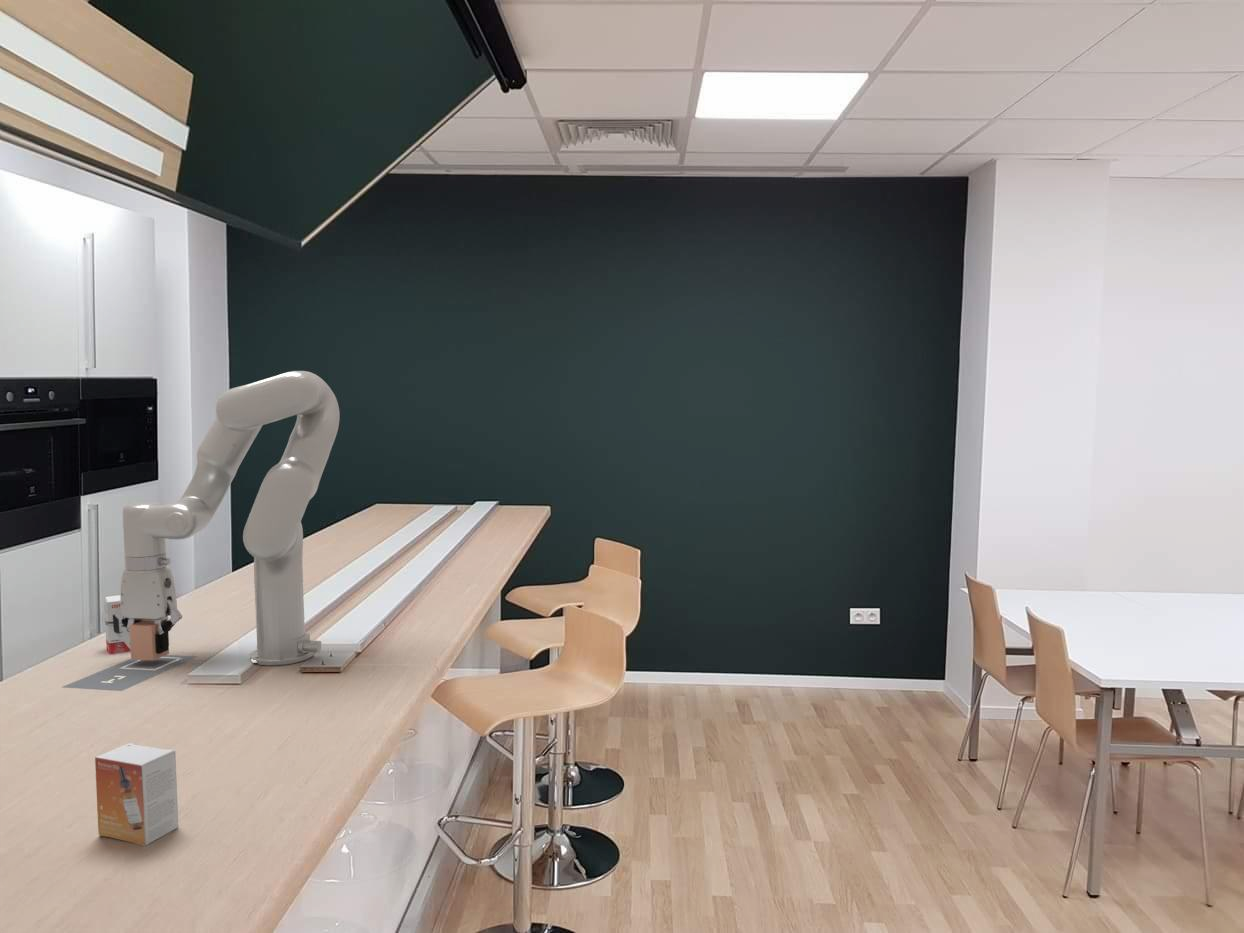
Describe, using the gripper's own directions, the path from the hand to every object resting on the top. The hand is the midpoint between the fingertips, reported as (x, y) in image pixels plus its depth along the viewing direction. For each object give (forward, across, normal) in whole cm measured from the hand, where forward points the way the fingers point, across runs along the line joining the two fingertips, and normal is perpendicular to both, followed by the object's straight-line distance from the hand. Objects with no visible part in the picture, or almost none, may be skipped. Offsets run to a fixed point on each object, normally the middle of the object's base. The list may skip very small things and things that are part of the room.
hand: (150, 650), depth 202 cm
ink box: (+3, +12, -9) cm, 15 cm away
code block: (+1, 0, 0) cm, 1 cm away
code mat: (+3, 0, +5) cm, 6 cm away
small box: (+3, -49, +67) cm, 83 cm away
